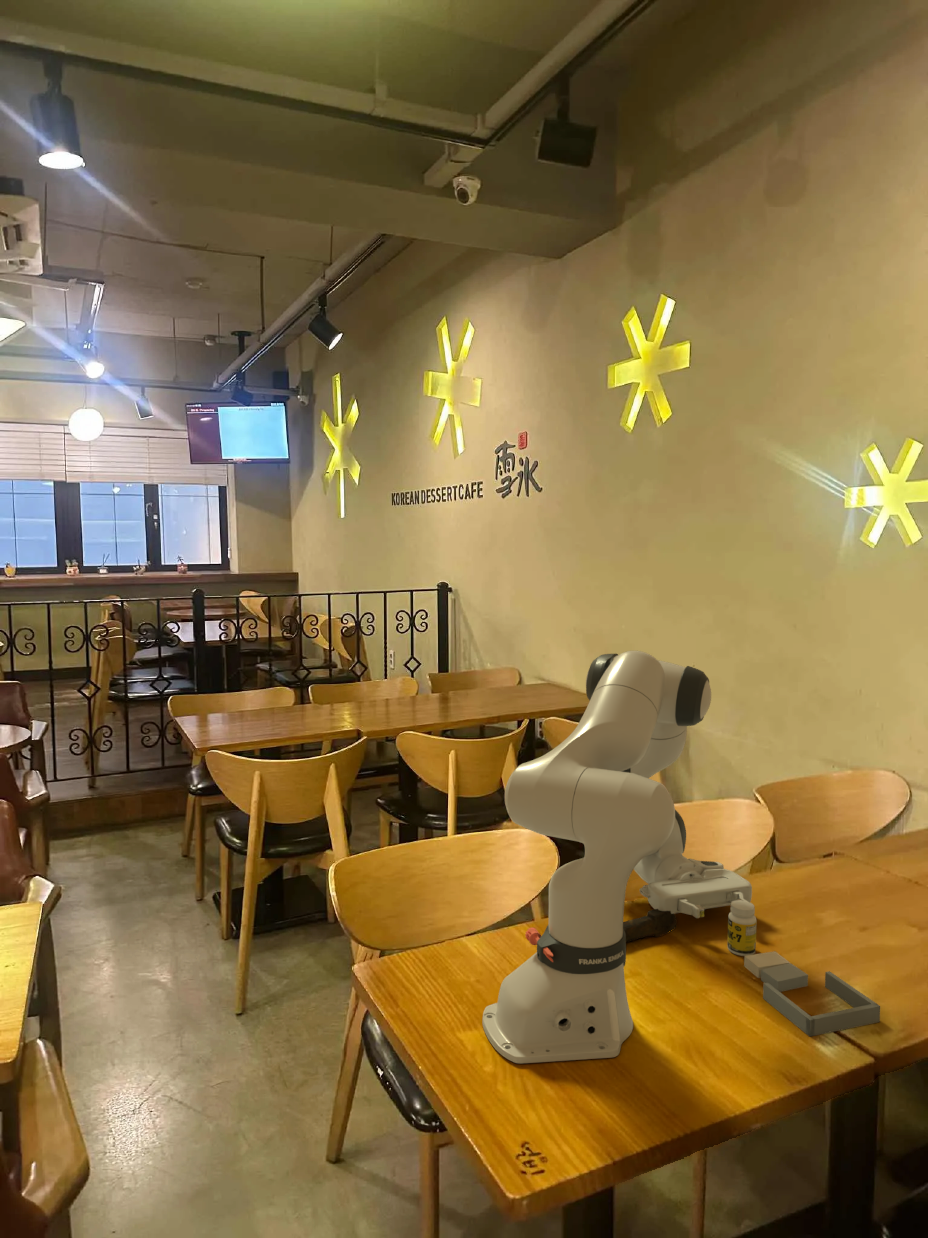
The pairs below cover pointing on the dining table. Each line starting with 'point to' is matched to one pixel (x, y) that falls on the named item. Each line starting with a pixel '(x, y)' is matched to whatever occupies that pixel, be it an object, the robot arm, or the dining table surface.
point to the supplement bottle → (742, 928)
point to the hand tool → (650, 925)
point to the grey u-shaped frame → (827, 1022)
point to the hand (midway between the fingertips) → (723, 910)
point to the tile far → (763, 962)
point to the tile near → (784, 977)
